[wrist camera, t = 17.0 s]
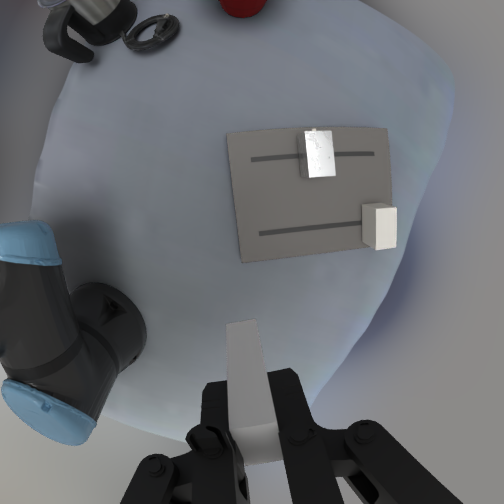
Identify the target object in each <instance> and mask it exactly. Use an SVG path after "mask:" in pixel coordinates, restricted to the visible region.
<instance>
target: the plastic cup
mask: <svg viewBox="0 0 504 504" xmlns="http://www.w3.org/2000/svg"><path fill="white" fill-rule="evenodd" d="M218 1H220V4H221V6H222V8H223V9H224V11H226V12H227V13H228V14H229V15H232V16H234V17H240V18H245V17H251V16H253V15H255V14H257V13H258V12H259V11H260V10H261V9H262V8H263V6H264V4H265V3H266V1H267V0H218Z"/></svg>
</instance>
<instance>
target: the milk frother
mask: <svg viewBox="0 0 504 504" xmlns="http://www.w3.org/2000/svg"><path fill="white" fill-rule="evenodd" d="M38 5H39V6H40V7H42V8H48V9H49V10H50V11H51V12H50V14H49V16H48V18H47V21H46V23H45V26H44V29H43V41H44V44H45V46H46V48H47V49H48V50H49V51H51V52H52V53H55V54H57V55H60V56H62V57H64V58H67V59H69V60H71V61H74V62H76V63H87V62H90V61H91V60H92V59H93V57H94V53H93V51H91V50H90V49H88V48H87V47H85V46H83V45H82V44H80V43H78V42H77V41H75V40H73V39H71V38H70V37H69V36H68V33H67V25H68V26H70V27H71V28H72V29H74V30H75V31H76V32H77V33H79V34H80V35H81V36H82V37H83V38H84V39H85V40H86V41H87V42H88V43H89V44H92V45H105V44H108V43H111V42H113V41H115V40H116V39H118V38H120V37H122V39H123V41H124V43H125V45H126V46H127V47H128V48H129V49H131V50H145V49H148V48H151V47H154V46H156V45H158V44H160V43H162V42H164V41H165V40H167V39H168V38H170V37H171V36H172V35H173V34H174V33H175V32H176V31H177V30H178V27H179V20H178V19H177V18H176V17H175V16H173V15H169V14H166V15H165V14H164V15H157V16H153V17H150V18H148V19H146V20H144V21H143V22H141V23H139V24H138V25H137V26H135V27H134V28H133V29H132V30H131V32H130V33H129V35H128V36H127V38H126V36H125V33H126V32H127V31H128V30H129V29H130V27H131V26H132V25H133V23H134V21H135V19H136V16H137V8H136V6H135V4H134V3H132V2H130V1H129V0H38ZM154 22H157V26H156V29H155V34H154V35H153V38H152V39H150V40H147V41H142V42H139V41H136V40H135V36H136V35H137V33H138V32H139V31H140V30H142V29H143V28H144V27H146V26H147V25H149V24H151V23H154Z"/></svg>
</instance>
